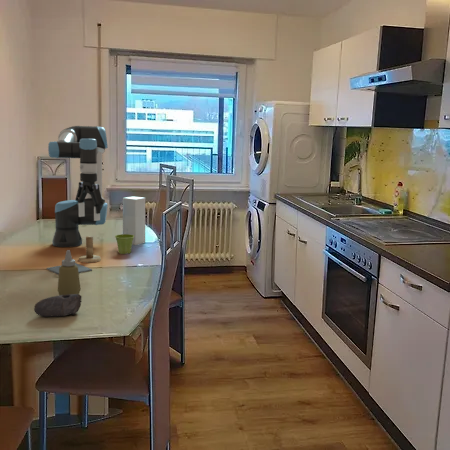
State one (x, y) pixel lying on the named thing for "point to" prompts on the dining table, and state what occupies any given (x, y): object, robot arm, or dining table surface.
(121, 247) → the plant pot
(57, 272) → the mat
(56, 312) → the perforated stone tool
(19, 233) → the dining table surface
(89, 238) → the beige disc-based post
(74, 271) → the squeeze bottle
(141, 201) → the tall white carton
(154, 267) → the dining table surface
